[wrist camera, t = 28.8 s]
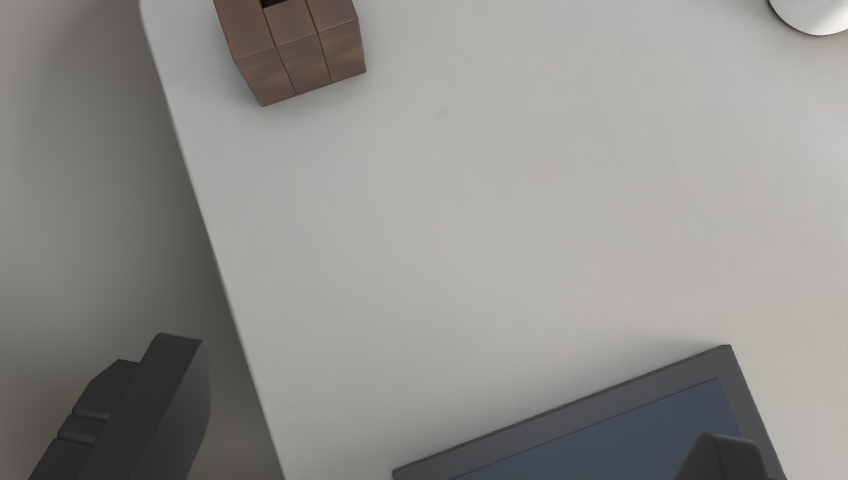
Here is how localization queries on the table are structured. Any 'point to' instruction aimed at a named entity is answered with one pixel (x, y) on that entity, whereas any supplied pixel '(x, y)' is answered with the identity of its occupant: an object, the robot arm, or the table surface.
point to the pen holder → (291, 44)
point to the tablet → (616, 430)
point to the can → (814, 15)
